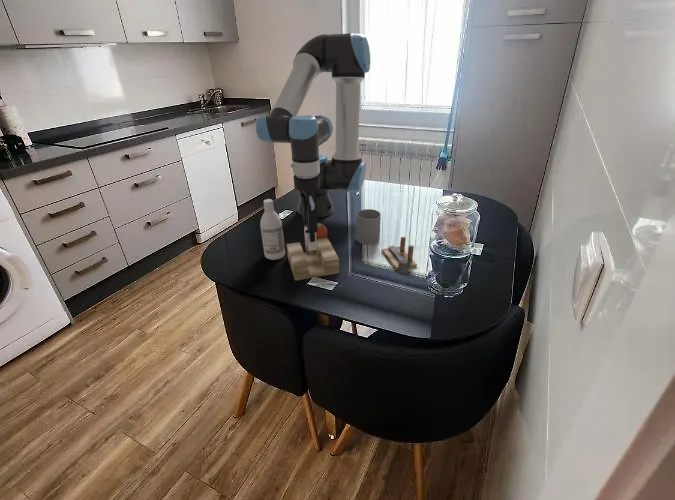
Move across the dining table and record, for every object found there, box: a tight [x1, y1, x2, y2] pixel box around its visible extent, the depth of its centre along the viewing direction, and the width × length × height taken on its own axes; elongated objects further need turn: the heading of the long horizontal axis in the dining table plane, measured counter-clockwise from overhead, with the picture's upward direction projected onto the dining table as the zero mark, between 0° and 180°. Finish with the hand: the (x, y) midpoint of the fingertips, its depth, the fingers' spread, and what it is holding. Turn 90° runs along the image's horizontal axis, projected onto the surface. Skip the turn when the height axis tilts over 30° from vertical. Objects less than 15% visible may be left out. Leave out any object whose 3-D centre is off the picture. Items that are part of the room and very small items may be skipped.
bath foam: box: [259, 198, 286, 261], centre depth 118 cm, size 7×7×20 cm
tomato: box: [316, 221, 328, 239], centre depth 129 cm, size 7×7×8 cm
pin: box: [303, 225, 317, 255], centre depth 112 cm, size 4×4×9 cm
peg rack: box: [381, 236, 418, 271], centre depth 117 cm, size 13×7×6 cm, turn 15°
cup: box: [356, 208, 382, 246], centre depth 129 cm, size 8×8×10 cm
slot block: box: [286, 237, 340, 281], centre depth 116 cm, size 14×14×5 cm
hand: (311, 246), depth 114 cm, fingers closed on pin, 3 cm apart
